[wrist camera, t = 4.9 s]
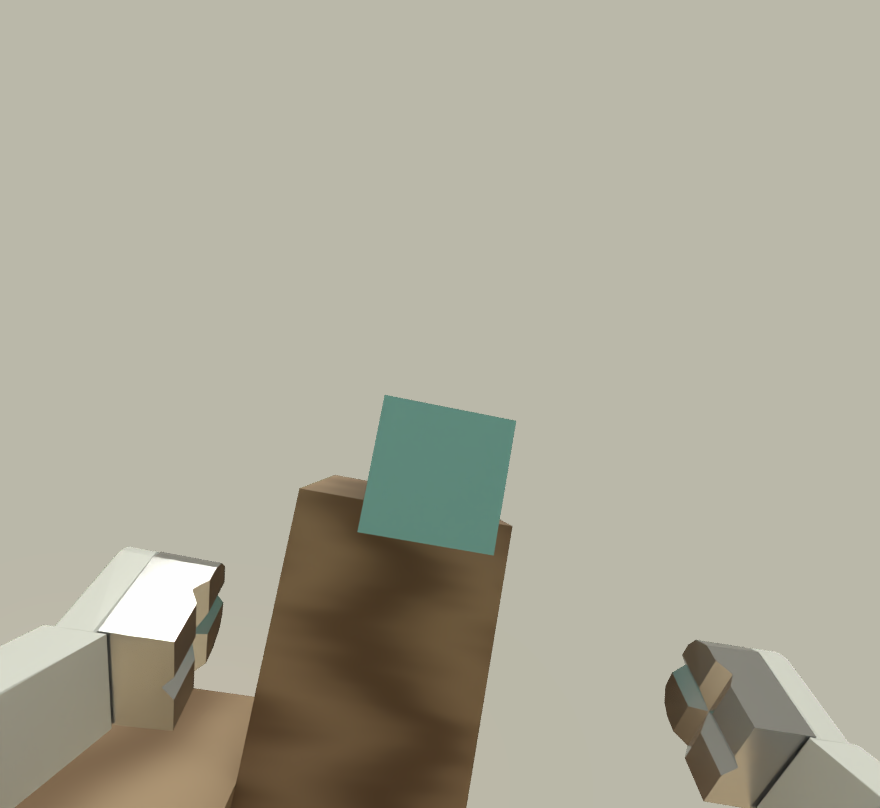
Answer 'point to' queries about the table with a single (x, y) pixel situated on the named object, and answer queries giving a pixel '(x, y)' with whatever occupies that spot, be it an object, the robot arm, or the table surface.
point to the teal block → (437, 476)
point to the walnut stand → (327, 685)
